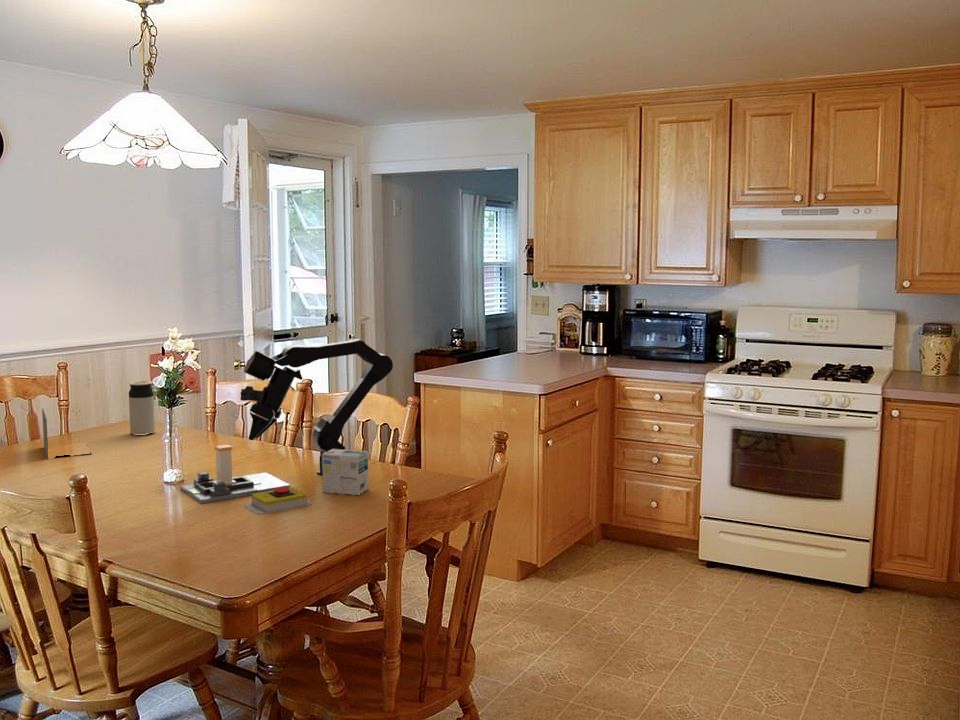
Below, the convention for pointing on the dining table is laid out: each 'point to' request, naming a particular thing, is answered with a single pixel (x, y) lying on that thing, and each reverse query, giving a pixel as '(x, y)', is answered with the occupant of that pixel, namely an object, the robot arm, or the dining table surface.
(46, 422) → the laptop
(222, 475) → the handle
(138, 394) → the travel mug
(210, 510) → the dining table surface
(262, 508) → the emergency button
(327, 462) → the light bulb box
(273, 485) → the breaker panel
